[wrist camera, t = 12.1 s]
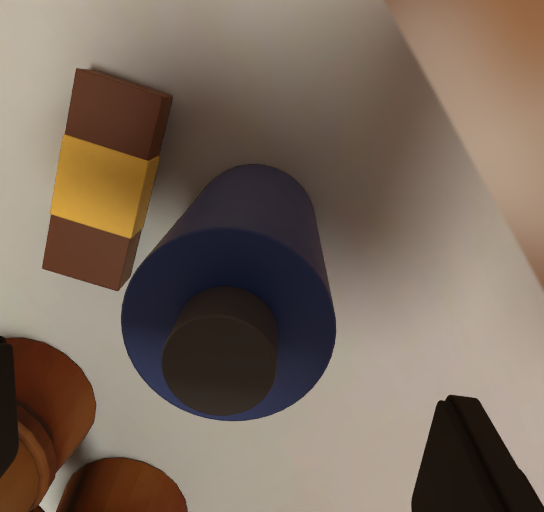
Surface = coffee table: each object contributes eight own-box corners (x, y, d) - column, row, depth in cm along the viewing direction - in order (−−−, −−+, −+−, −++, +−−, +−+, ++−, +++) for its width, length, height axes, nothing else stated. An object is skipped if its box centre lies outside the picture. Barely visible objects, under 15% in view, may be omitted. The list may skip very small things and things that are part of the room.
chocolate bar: (92, 69, 24) (74, 67, 22) (174, 96, 24) (163, 97, 22) (58, 255, 27) (40, 269, 25) (131, 277, 27) (118, 292, 25)
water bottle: (324, 172, 25) (364, 267, 11) (306, 287, 27) (323, 481, 14) (198, 156, 25) (93, 234, 11) (191, 273, 27) (94, 454, 14)
